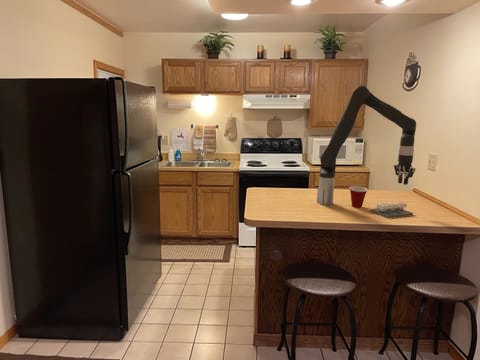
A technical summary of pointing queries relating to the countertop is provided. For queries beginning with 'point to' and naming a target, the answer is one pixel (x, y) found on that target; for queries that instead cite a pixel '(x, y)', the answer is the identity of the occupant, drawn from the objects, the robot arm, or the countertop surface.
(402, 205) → the key
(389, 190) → the countertop surface
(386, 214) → the keypad board
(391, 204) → the key
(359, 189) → the plastic cup
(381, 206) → the key
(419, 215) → the countertop surface
